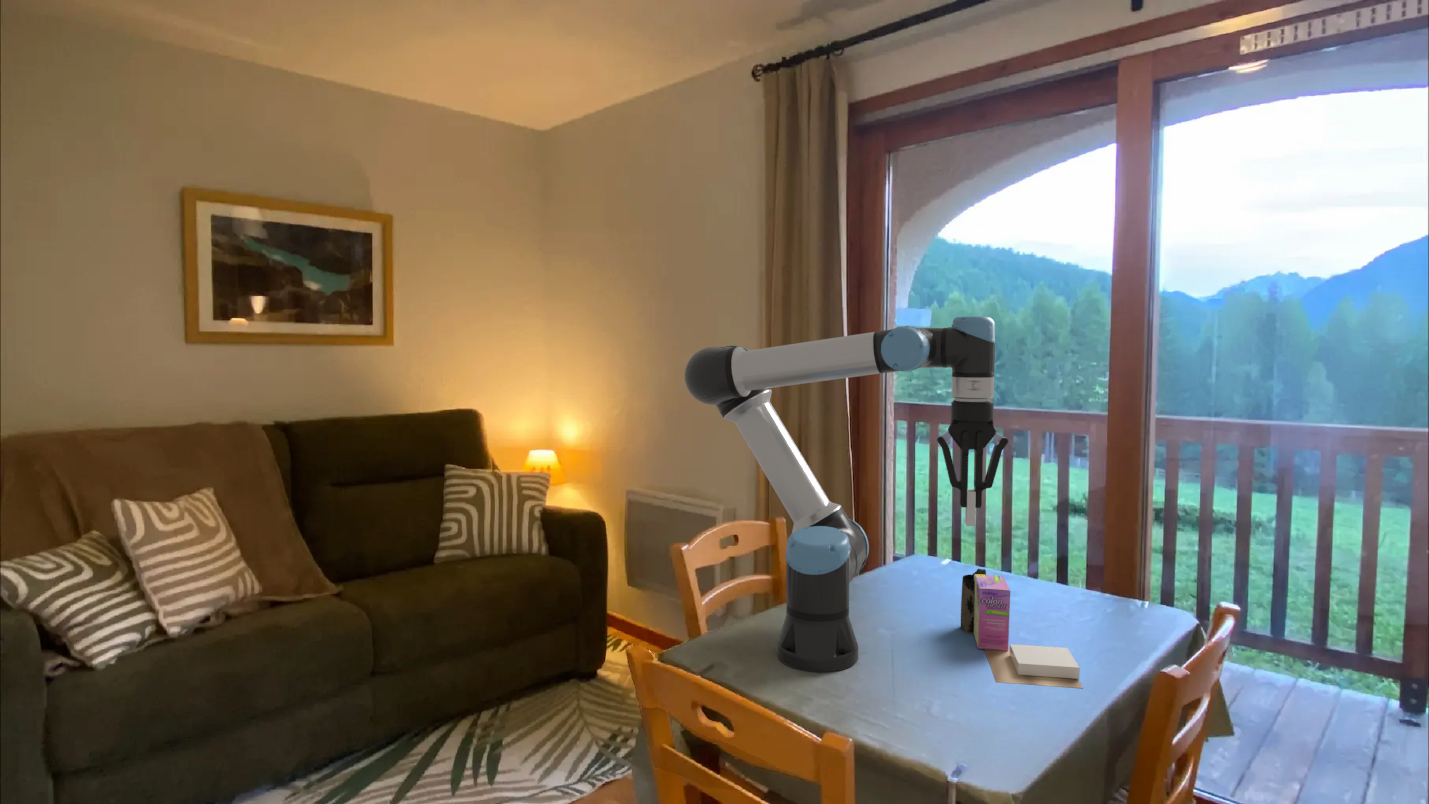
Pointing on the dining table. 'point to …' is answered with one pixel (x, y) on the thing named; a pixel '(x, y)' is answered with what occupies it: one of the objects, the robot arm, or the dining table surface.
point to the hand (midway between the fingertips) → (970, 524)
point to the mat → (1008, 674)
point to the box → (991, 612)
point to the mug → (968, 601)
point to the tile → (1044, 661)
